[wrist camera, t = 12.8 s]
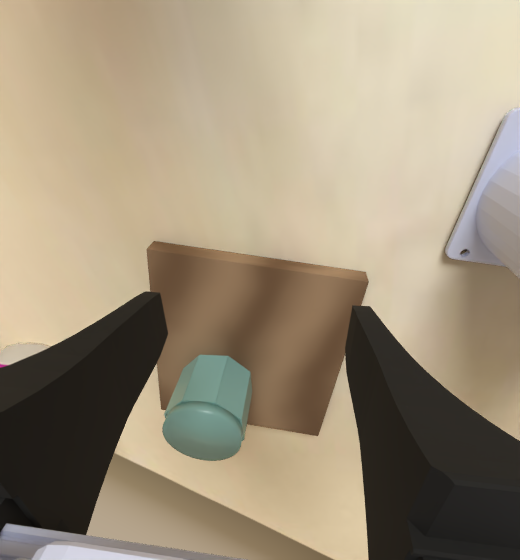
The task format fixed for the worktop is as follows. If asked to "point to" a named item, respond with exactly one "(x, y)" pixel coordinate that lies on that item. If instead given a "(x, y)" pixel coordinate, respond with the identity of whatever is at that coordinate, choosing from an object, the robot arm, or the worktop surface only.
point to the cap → (209, 408)
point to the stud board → (257, 326)
